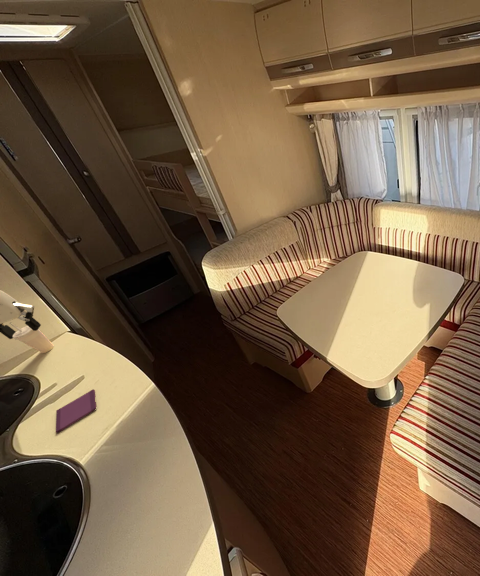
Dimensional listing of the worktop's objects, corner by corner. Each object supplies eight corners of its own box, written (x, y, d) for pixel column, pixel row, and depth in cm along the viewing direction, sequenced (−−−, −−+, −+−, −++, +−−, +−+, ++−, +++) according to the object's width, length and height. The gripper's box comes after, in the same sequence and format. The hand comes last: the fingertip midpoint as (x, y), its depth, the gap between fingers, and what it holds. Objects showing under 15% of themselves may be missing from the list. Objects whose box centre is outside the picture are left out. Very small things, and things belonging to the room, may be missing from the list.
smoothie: (33, 354, 109) (-4, 327, 101) (53, 340, 114) (19, 313, 105) (42, 357, 107) (5, 330, 98) (62, 343, 112) (28, 316, 103)
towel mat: (57, 433, 81) (55, 432, 80) (58, 411, 87) (56, 410, 86) (96, 409, 85) (95, 408, 84) (94, 390, 91) (93, 389, 90)
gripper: (-70, 309, 89) (-11, 349, 100) (0, 288, 93) (50, 329, 104) (-52, 295, 95) (2, 334, 106) (13, 275, 99) (59, 315, 110)
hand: (25, 331), depth 105 cm, fingers closed on smoothie, 6 cm apart
